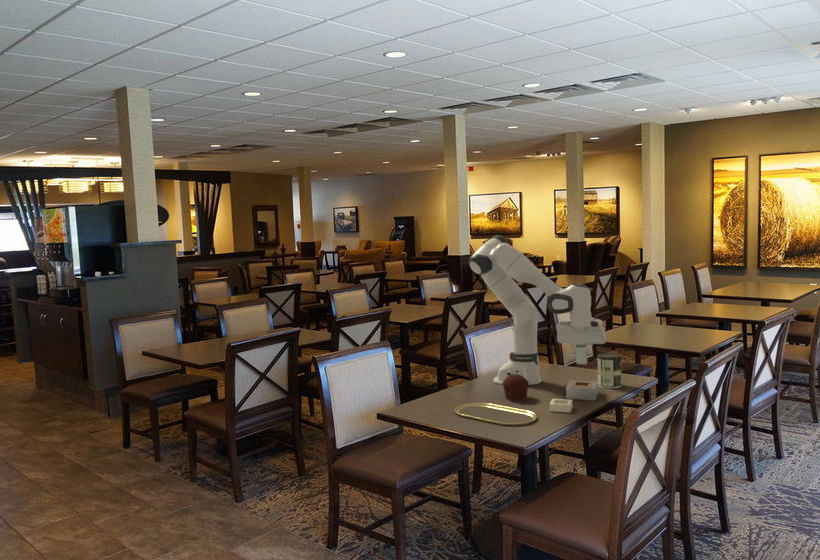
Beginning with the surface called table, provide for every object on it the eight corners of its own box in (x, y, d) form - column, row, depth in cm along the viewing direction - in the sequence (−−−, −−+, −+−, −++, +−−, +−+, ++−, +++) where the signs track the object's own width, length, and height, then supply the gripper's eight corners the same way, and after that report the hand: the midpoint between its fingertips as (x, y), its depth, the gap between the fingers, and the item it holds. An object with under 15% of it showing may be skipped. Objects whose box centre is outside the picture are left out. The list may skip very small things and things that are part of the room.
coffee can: (617, 382, 297) (617, 352, 296) (624, 388, 286) (624, 357, 285) (595, 383, 297) (594, 353, 296) (601, 389, 287) (600, 357, 285)
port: (566, 398, 273) (566, 386, 273) (569, 391, 284) (569, 379, 284) (595, 400, 269) (595, 387, 268) (597, 393, 280) (597, 381, 280)
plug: (576, 364, 274) (575, 343, 273) (577, 361, 278) (576, 341, 277) (586, 364, 273) (585, 343, 272) (587, 362, 277) (586, 341, 276)
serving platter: (519, 430, 235) (519, 426, 235) (445, 414, 259) (445, 410, 258) (545, 418, 249) (545, 414, 249) (473, 404, 272) (472, 400, 272)
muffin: (528, 401, 271) (528, 378, 270) (502, 401, 273) (501, 378, 272) (529, 394, 283) (528, 372, 282) (503, 394, 285) (503, 371, 284)
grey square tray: (549, 411, 256) (549, 403, 256) (552, 405, 263) (552, 398, 263) (570, 412, 253) (570, 405, 253) (572, 407, 261) (572, 399, 260)
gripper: (555, 322, 275) (555, 354, 276) (604, 323, 267) (605, 355, 268) (557, 320, 281) (557, 351, 282) (605, 320, 273) (606, 352, 274)
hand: (581, 353), depth 275 cm, fingers closed on plug, 4 cm apart
